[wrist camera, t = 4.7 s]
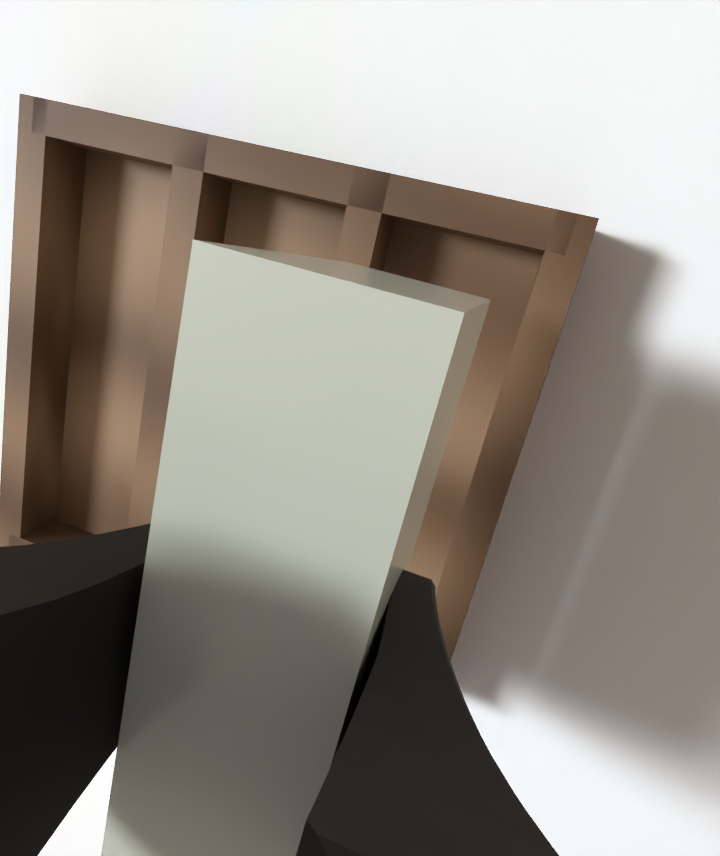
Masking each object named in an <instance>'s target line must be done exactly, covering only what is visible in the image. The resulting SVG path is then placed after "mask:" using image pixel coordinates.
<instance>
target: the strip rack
mask: <svg viewBox="0 0 720 856" xmlns="http://www.w3.org/2000/svg"><path fill="white" fill-rule="evenodd" d="M598 220H599V218H594V217H589V216H585V215H580V214H575V213H571V212H566V211H561V210H557V209H552V208H548V207H543V206H538V205H534V204H529V203H524V202H520V201H515V200H511V199H506V198H501V197H497V196H492V195H487V194H483V193H478V192H473V191H469V190H464V189H460V188H455V187H450V186H446V185H441V184H436V183H432V182H427V181H423V180H418V179H413V178H409V177H404V176H399V175H395V174H390V173H385V172H381V171H376V170H372V169H367V168H362V167H358V166H353V165H348V164H344V163H339V162H335V161H330V160H325V159H321V158H316V157H311V156H307V155H302V154H297V153H293V152H288V151H284V150H279V149H274V148H270V147H265V146H260V145H256V144H251V143H246V142H242V141H237V140H233V139H228V138H223V137H219V136H214V135H209V134H205V133H200V132H196V131H191V130H186V129H182V128H177V127H172V126H168V125H163V124H158V123H154V122H149V121H145V120H140V119H135V118H131V117H126V116H121V115H117V114H112V113H108V112H103V111H98V110H94V109H89V108H84V107H80V106H75V105H70V104H66V103H61V102H57V101H52V100H47V99H43V98H38V97H33V96H29V95H24V94H20V102H19V122H18V142H17V162H16V182H15V202H14V222H13V243H12V263H11V283H10V303H9V323H8V343H7V363H6V383H5V403H4V424H3V444H2V464H1V484H0V547H3V546H18V545H29V544H37V543H46V542H54V541H62V540H68V539H75V538H81V537H87V536H92V535H97V534H102V533H107V532H112V531H117V530H122V529H127V528H131V527H136V526H141V525H145V524H149V523H151V518H152V511H153V505H154V498H155V491H156V484H157V478H158V471H159V464H160V457H161V451H162V444H163V437H164V430H165V424H166V417H167V410H168V404H169V397H170V390H171V383H172V377H173V370H174V363H175V356H176V350H177V343H178V336H179V329H180V323H181V316H182V309H183V303H184V296H185V289H186V282H187V276H188V269H189V262H190V255H191V249H192V242H193V239H194V240H200V241H207V242H214V243H221V244H228V245H235V246H241V247H248V248H255V249H262V250H269V251H276V252H282V253H289V254H296V255H303V256H310V257H317V258H324V259H330V260H337V261H344V262H350V263H353V264H357V265H361V266H365V267H369V268H372V269H376V270H380V271H384V272H388V273H391V274H395V275H399V276H403V277H407V278H410V279H414V280H418V281H422V282H426V283H429V284H433V285H437V286H441V287H445V288H448V289H452V290H456V291H460V292H464V293H467V294H471V295H475V296H479V297H483V298H486V299H490V303H489V307H488V310H487V313H486V316H485V320H484V323H483V326H482V329H481V333H480V336H479V339H478V342H477V346H476V349H475V352H474V356H473V359H472V362H471V365H470V369H469V372H468V375H467V378H466V382H465V385H464V388H463V391H462V395H461V398H460V401H459V404H458V408H457V411H456V414H455V417H454V421H453V424H452V427H451V430H450V434H449V437H448V440H447V443H446V447H445V450H444V453H443V456H442V460H441V463H440V466H439V469H438V473H437V476H436V479H435V483H434V486H433V489H432V492H431V496H430V499H429V502H428V505H427V509H426V512H425V515H424V518H423V522H422V525H421V528H420V531H419V535H418V538H417V541H416V544H415V548H414V551H413V554H412V557H411V561H410V564H409V567H408V570H407V571H409V572H412V573H415V574H418V575H420V576H423V577H426V578H429V579H431V580H432V581H433V583H434V585H435V587H436V588H435V595H436V604H437V611H438V616H439V621H440V626H441V630H442V634H443V638H444V641H445V645H446V648H447V652H448V656H449V659H450V660H451V657H452V654H453V651H454V648H455V645H456V642H457V639H458V636H459V633H460V630H461V627H462V624H463V621H464V618H465V615H466V612H467V609H468V606H469V603H470V600H471V597H472V594H473V591H474V588H475V586H476V583H477V580H478V577H479V574H480V571H481V568H482V565H483V562H484V559H485V556H486V553H487V550H488V547H489V544H490V541H491V538H492V535H493V532H494V529H495V526H496V523H497V520H498V517H499V514H500V511H501V508H502V505H503V502H504V499H505V496H506V493H507V490H508V487H509V484H510V481H511V478H512V475H513V472H514V469H515V466H516V464H517V461H518V458H519V455H520V452H521V449H522V446H523V443H524V440H525V437H526V434H527V431H528V428H529V425H530V422H531V419H532V416H533V413H534V410H535V407H536V404H537V401H538V398H539V395H540V392H541V389H542V386H543V383H544V380H545V377H546V374H547V371H548V368H549V365H550V362H551V359H552V356H553V353H554V350H555V347H556V344H557V342H558V339H559V336H560V333H561V330H562V327H563V324H564V321H565V318H566V315H567V312H568V309H569V306H570V303H571V300H572V297H573V294H574V291H575V288H576V285H577V282H578V279H579V276H580V273H581V270H582V267H583V264H584V261H585V258H586V255H587V252H588V249H589V246H590V243H591V240H592V237H593V234H594V231H595V228H596V225H597V222H598Z"/></svg>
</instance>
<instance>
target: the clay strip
mask: <svg viewBox="0 0 720 856" xmlns="http://www.w3.org/2000/svg"><path fill="white" fill-rule="evenodd" d="M489 303H490V299H486V298H483V297H479V296H475V295H471V294H467V293H464V292H460V291H456V290H452V289H448V288H445V287H441V286H437V285H433V284H429V283H426V282H422V281H418V280H414V279H410V278H407V277H403V276H399V275H395V274H391V273H388V272H384V271H380V270H376V269H372V268H369V267H365V266H361V265H357V264H353V263H350V262H344V261H337V260H330V259H324V258H317V257H310V256H303V255H296V254H289V253H282V252H276V251H269V250H262V249H255V248H248V247H241V246H235V245H228V244H221V243H214V242H207V241H200V240H194V239H193V242H192V249H191V255H190V262H189V269H188V276H187V282H186V289H185V296H184V303H183V309H182V316H181V323H180V329H179V336H178V343H177V350H176V356H175V363H174V370H173V377H172V383H171V390H170V397H169V404H168V410H167V417H166V424H165V430H164V437H163V444H162V451H161V457H160V464H159V471H158V478H157V484H156V491H155V498H154V505H153V511H152V518H151V525H150V531H149V538H148V545H147V552H146V558H145V565H144V572H143V579H142V585H141V592H140V599H139V605H138V612H137V619H136V626H135V632H134V639H133V646H132V653H131V659H130V666H129V673H128V680H127V686H126V693H125V700H124V706H123V713H122V720H121V727H120V733H119V740H118V747H117V754H116V760H115V767H114V774H113V781H112V787H111V794H110V801H109V807H108V814H107V821H106V828H105V834H104V841H103V848H102V855H101V856H296V853H297V850H298V846H299V843H300V840H301V836H302V833H303V829H304V826H305V822H306V819H307V817H308V815H309V813H310V811H311V809H312V807H313V805H314V802H315V800H316V798H317V796H318V794H319V792H320V789H321V787H322V785H323V783H324V781H325V778H326V776H327V774H328V772H329V770H330V768H331V765H332V763H333V761H334V759H335V756H336V754H337V752H338V750H339V747H340V745H341V743H342V740H343V738H344V736H345V733H346V731H347V729H348V726H349V724H350V722H351V719H352V717H353V715H354V712H355V710H356V707H357V705H358V702H359V699H360V696H361V692H362V689H363V686H364V682H365V679H366V676H367V672H368V669H369V666H370V662H371V659H372V656H373V652H374V649H375V646H376V643H377V639H378V636H379V633H380V629H381V626H382V623H383V619H384V616H385V613H386V609H387V606H388V603H389V599H390V596H391V594H392V592H393V589H394V587H395V585H396V583H397V581H398V579H399V576H400V574H401V573H402V571H403V569H404V570H406V571H407V570H408V567H409V564H410V561H411V557H412V554H413V551H414V548H415V544H416V541H417V538H418V535H419V531H420V528H421V525H422V522H423V518H424V515H425V512H426V509H427V505H428V502H429V499H430V496H431V492H432V489H433V486H434V483H435V479H436V476H437V473H438V469H439V466H440V463H441V460H442V456H443V453H444V450H445V447H446V443H447V440H448V437H449V434H450V430H451V427H452V424H453V421H454V417H455V414H456V411H457V408H458V404H459V401H460V398H461V395H462V391H463V388H464V385H465V382H466V378H467V375H468V372H469V369H470V365H471V362H472V359H473V356H474V352H475V349H476V346H477V342H478V339H479V336H480V333H481V329H482V326H483V323H484V320H485V316H486V313H487V310H488V307H489Z"/></svg>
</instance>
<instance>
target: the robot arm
mask: <svg viewBox="0 0 720 856" xmlns="http://www.w3.org/2000/svg"><path fill="white" fill-rule="evenodd" d="M150 525H151V523H149V524H145V525H141V526H136V527H131V528H127V529H122V530H117V531H112V532H107V533H102V534H97V535H92V536H87V537H81V538H75V539H68V540H62V541H54V542H46V543H37V544H29V545H18V546H3V547H0V856H37V855H38V854H39V853H40V851H41V850H42V848H43V847H44V846H45V844H46V843H47V841H48V840H49V839H50V837H51V836H52V834H53V833H54V831H55V830H56V829H57V827H58V826H59V824H60V823H61V822H62V820H63V819H64V817H65V816H66V815H67V813H68V812H69V810H70V809H71V808H72V806H73V805H74V803H75V802H76V801H77V799H78V798H79V797H80V795H81V794H82V793H83V791H84V790H85V789H86V787H87V786H88V784H89V783H90V782H91V780H92V779H93V778H94V776H95V775H96V774H97V772H98V771H99V770H100V768H101V767H102V766H103V764H104V763H105V762H106V760H107V759H108V758H109V756H110V755H111V754H112V752H113V751H114V750H115V749H116V747H117V746H118V740H119V733H120V727H121V720H122V713H123V706H124V700H125V693H126V686H127V680H128V673H129V666H130V659H131V653H132V646H133V639H134V632H135V626H136V619H137V612H138V605H139V599H140V592H141V585H142V579H143V572H144V565H145V558H146V552H147V545H148V538H149V531H150ZM435 588H436V587H435V585H434V583H433V581H432V580H431V579H429V578H426V577H423V576H420V575H418V574H415V573H412V572H409V571H406V570H404V569H403V571H402V573H401V574H400V576H399V579H398V581H397V583H396V585H395V587H394V589H393V592H392V594H391V596H390V599H389V603H388V606H387V609H386V613H385V616H384V619H383V623H382V626H381V629H380V633H379V636H378V639H377V643H376V646H375V649H374V652H373V656H372V659H371V662H370V666H369V669H368V672H367V676H366V679H365V682H364V686H363V689H362V692H361V696H360V699H359V702H358V705H357V707H356V710H355V712H354V715H353V717H352V719H351V722H350V724H349V726H348V729H347V731H346V733H345V736H344V738H343V740H342V743H341V745H340V747H339V750H338V752H337V754H336V756H335V759H334V761H333V763H332V765H331V768H330V770H329V772H328V774H327V776H326V778H325V781H324V783H323V785H322V787H321V789H320V792H319V794H318V796H317V798H316V800H315V802H314V805H313V807H312V809H311V811H310V813H309V815H308V817H307V819H306V822H305V826H304V829H303V833H302V836H301V840H300V843H299V846H298V850H297V853H296V856H559V855H558V854H557V852H556V851H555V850H554V848H553V847H552V846H551V844H550V843H549V842H548V840H547V839H546V838H545V836H544V835H543V833H542V832H541V831H540V829H539V828H538V826H537V825H536V824H535V822H534V821H533V820H532V818H531V817H530V815H529V814H528V813H527V811H526V810H525V808H524V807H523V805H522V804H521V802H520V801H519V799H518V798H517V796H516V795H515V793H514V792H513V790H512V789H511V787H510V785H509V784H508V782H507V780H506V779H505V777H504V775H503V774H502V772H501V771H500V769H499V767H498V766H497V764H496V762H495V761H494V759H493V757H492V756H491V754H490V752H489V750H488V748H487V746H486V745H485V743H484V741H483V739H482V737H481V735H480V733H479V731H478V729H477V727H476V725H475V722H474V720H473V718H472V716H471V714H470V712H469V709H468V707H467V705H466V702H465V700H464V698H463V695H462V693H461V690H460V687H459V685H458V682H457V679H456V676H455V674H454V671H453V668H452V665H451V662H450V659H449V656H448V652H447V648H446V645H445V641H444V638H443V634H442V630H441V626H440V621H439V616H438V611H437V604H436V595H435Z"/></svg>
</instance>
